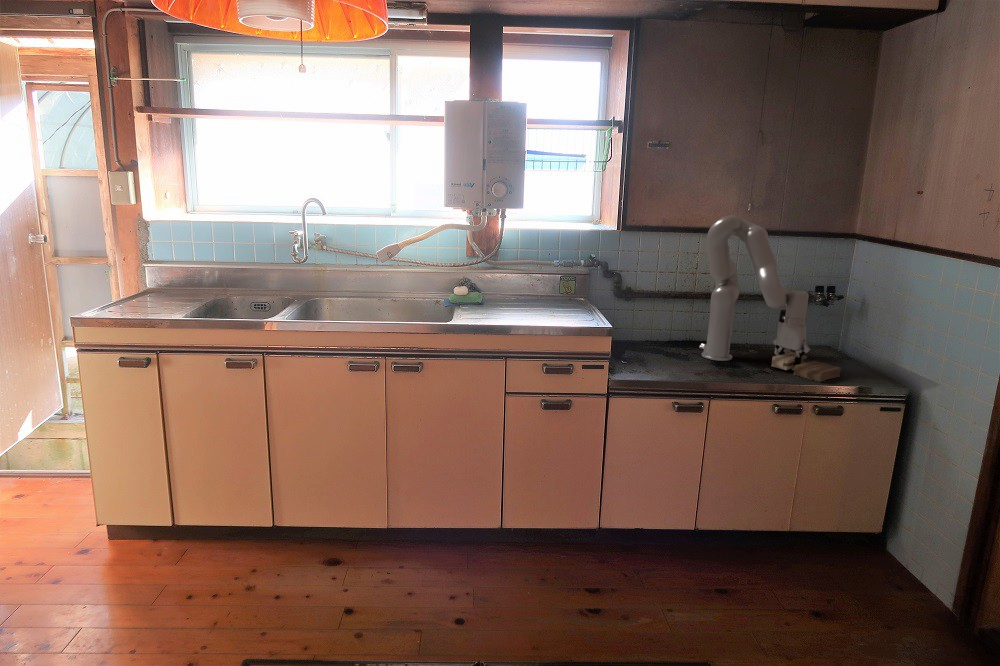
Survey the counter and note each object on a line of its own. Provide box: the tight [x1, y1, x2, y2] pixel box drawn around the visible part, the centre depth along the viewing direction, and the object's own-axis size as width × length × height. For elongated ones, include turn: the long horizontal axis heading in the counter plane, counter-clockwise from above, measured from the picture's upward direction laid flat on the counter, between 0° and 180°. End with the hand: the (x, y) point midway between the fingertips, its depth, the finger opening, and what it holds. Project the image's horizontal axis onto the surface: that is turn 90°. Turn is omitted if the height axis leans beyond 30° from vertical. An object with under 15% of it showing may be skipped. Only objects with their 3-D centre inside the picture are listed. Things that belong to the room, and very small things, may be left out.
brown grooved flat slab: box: [791, 360, 842, 382], centre depth 258 cm, size 12×14×4 cm
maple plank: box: [771, 351, 808, 371], centre depth 267 cm, size 6×14×4 cm, turn 125°
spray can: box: [774, 309, 792, 356], centre depth 286 cm, size 7×7×20 cm
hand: (788, 363), depth 267 cm, fingers closed on maple plank, 6 cm apart
